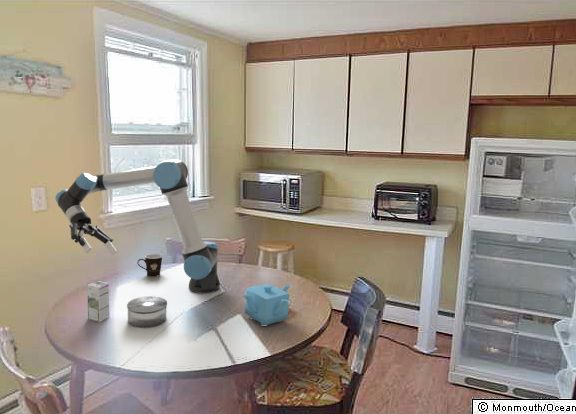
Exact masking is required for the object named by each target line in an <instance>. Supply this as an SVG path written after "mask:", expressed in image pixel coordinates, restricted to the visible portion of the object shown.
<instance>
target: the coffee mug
mask: <svg viewBox="0 0 576 414" xmlns="http://www.w3.org/2000/svg"><path fill="white" fill-rule="evenodd" d="M140 261H144V263H145V267H144V266H142V265H140V263H139V262H140ZM162 261H163V255H162V254H160V253H159V254H158V253H149V254H146V255H145V256H144V258H140V259H138V260H137V262H136V263H137V265H138V266H139V267H140V268H141V269H143V270H145V271H146V275H147V277H150V278H151V277H153V278H154V277H159V276H160V275H161V270H162V269H161V268H162Z"/></svg>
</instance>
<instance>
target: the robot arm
mask: <svg viewBox="0 0 576 414" xmlns="http://www.w3.org/2000/svg"><path fill="white" fill-rule="evenodd" d="M188 176H189V170H188V166H187V165H186V163H185V162H184V161H182V160H181V159H176V158H174V159H173V158H172V159H166V160H163V161H161V162H159V163H158V164H156V165H155V166H150V167H149V166H148V167H143V168H136V169H135V168H134V169H131V170H130V169H129V170H123V171H117V172H110V173H104V174H95V175H91V173H88V172H82V173H80V174H79V176H77V177H76V178H75V180H74V182H73V183H72V184H71V185H70V187H69V188H68V189H62V190H61V191H60V192H57V193H56V195H55V202H56V203H57V206H58V207H59V208H60V209H61V211H62V212H63V214H64V215H65V218H67V219H68V221H69V222H70V224H69V229H70V239H71V240H74V243H78V244H79V245H80V246H81V247H82V249H83V251H84V252H85V254H89V252H91V250H92V249H93V248H92V246H91V245H90V243H89V242H88V241H87V239H86V238H85V237H84V236H83V235H89V236H91V237H94V238H95V239H97V240H99V241H100V242H102V243H104V244H103V245H104V246H105V248H106V250H107V251H108V252H109V253H110V255H111V256H114V255H115V254H116V253H117V252H118V250H117V249H116V247H115V246H114V245H113V243H112V242H113V241H114V239H113V238H112V237H111V236H109V235H108V234H107V233H106V232H105V231H104V230H103V229H102V228H101V227H100V226H99V225H95V226H93V224H92V219H91V217H90V216H89V215H88V213H87V211H86V210H85V209H84V207H83V206H82V204H81V203H82V202H83V201H84V200H85V199H86V197H87V196H88V195H90V194H93V193H97V192H104V191H109V190H116V189H122V188H131V187H136V186H142V185H143V186H144V185H151V184H155V185H157V187H159V189H160V191H161V194H162V195H163V196H165V197H166V199H167V201H168V205H169V208H170V211H171V214H172V217H173V220H174V223H175V226H176V228H177V232H178V234H179V238H180V240H181V243H182V246H183V250H182V251H181V255H182V257H183V260H184V262H183V270H184V273H185V274H186V276H187V277H189V278H190V280H189V282H188V289H189V290H190V291H191V292H193V293H199V294H211V293H215V292H217V291H219V290H220V289H221V282H220V278H219V276H218V275H219V274H218V256H219V255H218V254H219V245H218V243H216V242H213V241H203V239H202V237H201V233H200V230H199V227H198V223H197V220H196V217H195V215H194V211H193V209H192V205H191V202H190V199H189V196H188V193H187V190H188V188H189V185H188V182H187V179H188Z"/></svg>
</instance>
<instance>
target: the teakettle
mask: <svg viewBox="0 0 576 414" xmlns="http://www.w3.org/2000/svg"><path fill="white" fill-rule="evenodd" d="M291 286H292V285H291V284H286V285H285V286H283V287H282V289H280V288H279V287H276V286H274V284H273V285H272V284H271V283H266V284H260V285H252V286H250V287H247V288H245V294H242V296H241V297H242V298H245V300H244V301H245V303H244V313H245V314H246V316H247V315H248V316H249V317H250V318H252V319H255V320H254V321H256V322H259V323H260V325H261V324H262V325H272V324H274V323H277V322H278V321H281V322H282V321H285V320H287V319H289V318H288V317H289V307H290V306H289V305H290V293H288V292H287V291H288V289H289V288H290V287H291Z"/></svg>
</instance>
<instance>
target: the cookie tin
mask: <svg viewBox="0 0 576 414" xmlns="http://www.w3.org/2000/svg"><path fill="white" fill-rule="evenodd" d="M167 306H168V301H167V300H166V299H165V298H163V297H161V296H153V295H152V296H141V297H140V296H139V297H137V298H132V299H131V300H130V301H128V303H127V304H126V308H127V323H128V325H129V326H131V327H132V328H138V329H149V328H150V329H151V328H155V327H159V326H160V325H162V324H164V323H165V322H166V321H167V309H168V308H167Z"/></svg>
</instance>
